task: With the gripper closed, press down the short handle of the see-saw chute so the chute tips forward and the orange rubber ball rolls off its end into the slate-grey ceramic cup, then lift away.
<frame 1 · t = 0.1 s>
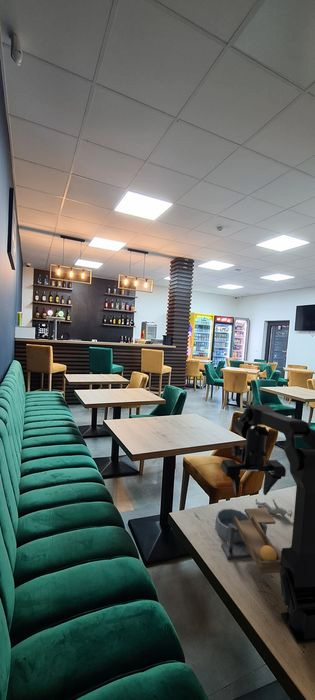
hand: (250, 494, 95), 15 cm above the table, tool pointing down, fingers open, 9 cm apart
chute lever: (262, 533, 87), point 8 cm above the table, hinge at -5.1°, touching ball
ball: (268, 554, 79), point 8 cm above the table, tilted 18°, touching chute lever
lever stand: (245, 551, 91), on the table
cup: (232, 530, 99), on the table
soldier figure: (272, 513, 111), on the table
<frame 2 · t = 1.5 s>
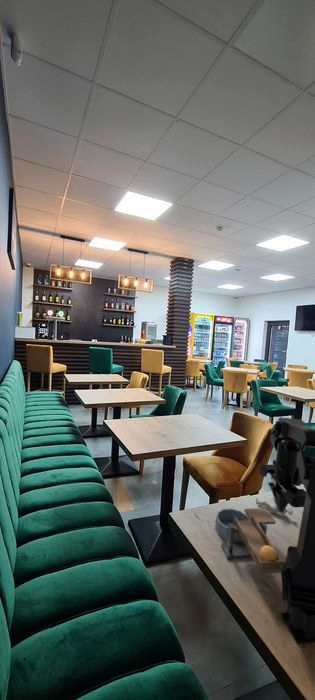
hand: (281, 511, 91), 12 cm above the table, tool pointing down, fingers closed
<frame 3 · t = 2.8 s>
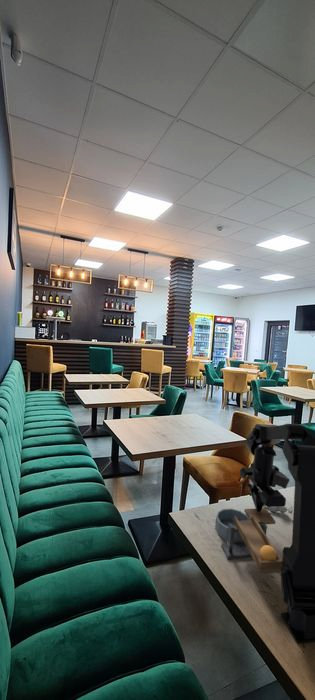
hand: (258, 510, 98), 8 cm above the table, tool pointing down, fingers closed, pressing on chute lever
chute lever: (262, 533, 87), point 8 cm above the table, hinge at -5.0°, touching gripper
ball: (268, 554, 79), point 8 cm above the table, tilted 17°
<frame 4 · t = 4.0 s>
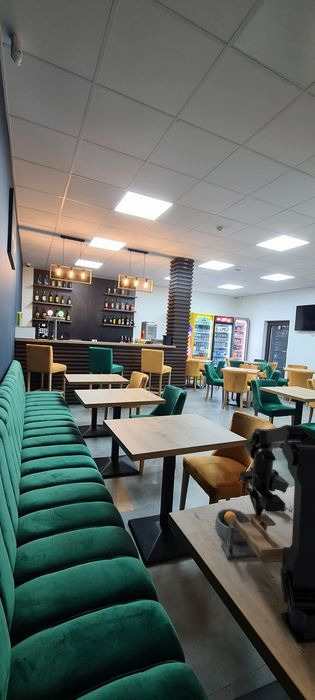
hand: (257, 514, 98), 6 cm above the table, tool pointing down, fingers closed, pressing on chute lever
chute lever: (262, 530, 87), point 8 cm above the table, hinge at 7.1°, touching gripper
ball: (230, 518, 102), point 2 cm above the table, tilted 69°, touching cup
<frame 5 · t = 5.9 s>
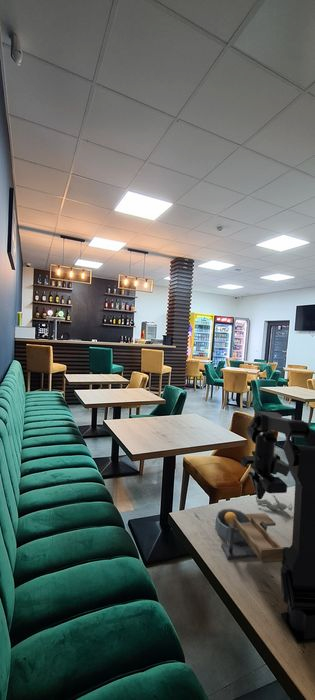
hand: (259, 498, 98), 12 cm above the table, tool pointing down, fingers closed
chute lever: (262, 530, 87), point 8 cm above the table, hinge at 7.1°
ball: (230, 518, 102), point 2 cm above the table, tilted 63°, touching cup
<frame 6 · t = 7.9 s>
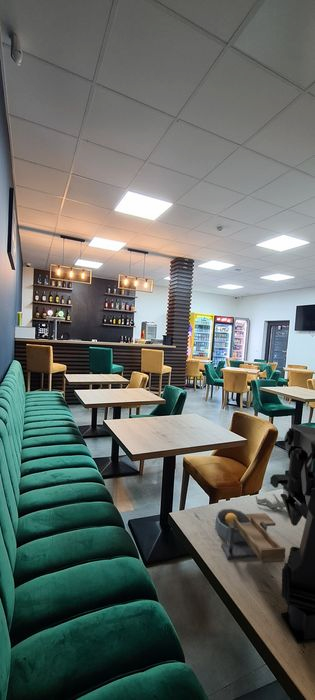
hand: (294, 524, 85), 12 cm above the table, tool pointing down, fingers closed
ball: (231, 519, 101), point 2 cm above the table, tilted 79°, touching cup
at the end: ball inside the target area on the cup (1.8 cm from its centre), point 2.5 cm above the cup's base; ball touching cup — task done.
